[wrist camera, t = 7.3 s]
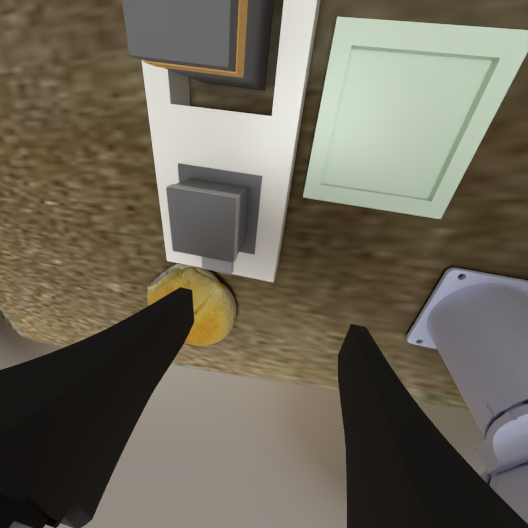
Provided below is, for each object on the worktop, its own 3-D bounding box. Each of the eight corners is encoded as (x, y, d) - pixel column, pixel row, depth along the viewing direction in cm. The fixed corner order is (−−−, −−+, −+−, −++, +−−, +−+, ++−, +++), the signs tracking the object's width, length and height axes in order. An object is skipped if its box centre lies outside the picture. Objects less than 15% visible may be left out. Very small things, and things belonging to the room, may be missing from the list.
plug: (274, -4, 13) (236, -117, 7) (265, 91, 15) (229, 69, 9) (201, -10, 13) (104, -123, 7) (202, 83, 15) (128, 56, 9)
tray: (522, 37, 12) (538, 31, 11) (434, 214, 16) (440, 219, 15) (335, 23, 13) (337, 16, 12) (303, 193, 17) (302, 197, 16)
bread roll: (203, 338, 28) (187, 367, 25) (146, 283, 25) (120, 307, 22) (256, 313, 24) (246, 344, 21) (197, 246, 22) (174, 268, 18)
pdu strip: (328, -50, 11) (335, -169, 7) (278, 266, 21) (266, 307, 16) (155, -57, 12) (58, -165, 8) (181, 247, 22) (144, 280, 17)
